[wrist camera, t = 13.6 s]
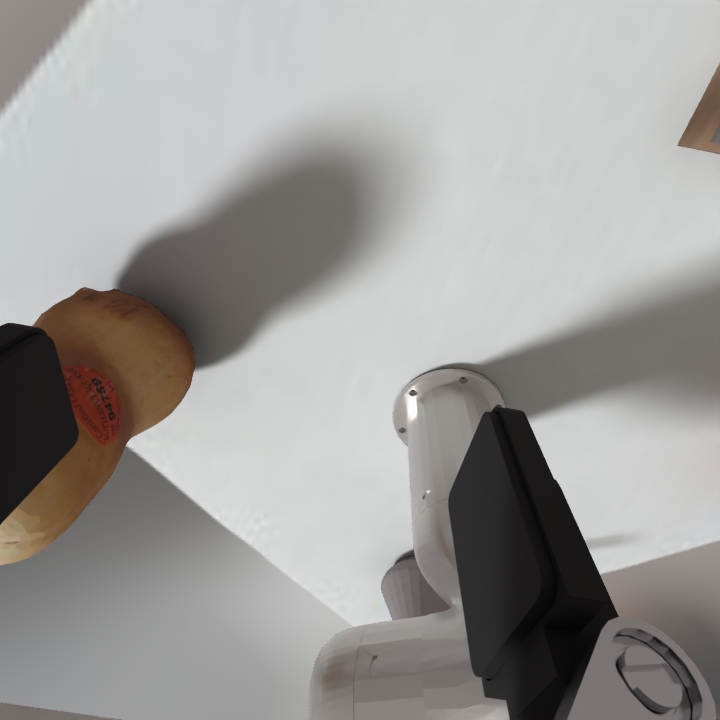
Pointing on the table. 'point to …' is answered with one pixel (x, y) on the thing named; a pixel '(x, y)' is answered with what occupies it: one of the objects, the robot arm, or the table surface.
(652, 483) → the table surface
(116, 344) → the butternut squash
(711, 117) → the stand
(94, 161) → the table surface
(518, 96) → the table surface
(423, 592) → the coffee pot
